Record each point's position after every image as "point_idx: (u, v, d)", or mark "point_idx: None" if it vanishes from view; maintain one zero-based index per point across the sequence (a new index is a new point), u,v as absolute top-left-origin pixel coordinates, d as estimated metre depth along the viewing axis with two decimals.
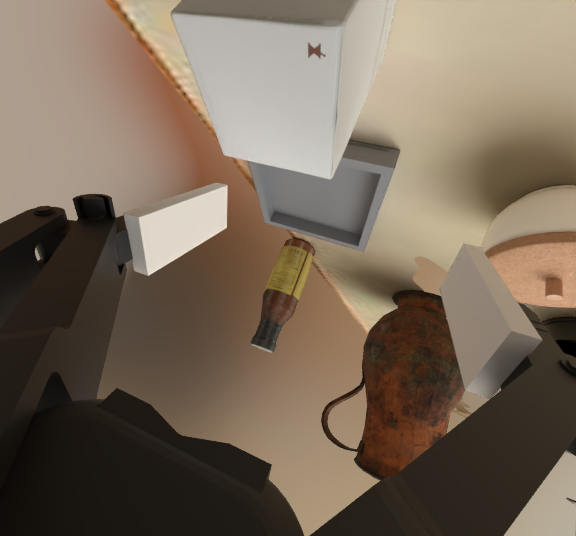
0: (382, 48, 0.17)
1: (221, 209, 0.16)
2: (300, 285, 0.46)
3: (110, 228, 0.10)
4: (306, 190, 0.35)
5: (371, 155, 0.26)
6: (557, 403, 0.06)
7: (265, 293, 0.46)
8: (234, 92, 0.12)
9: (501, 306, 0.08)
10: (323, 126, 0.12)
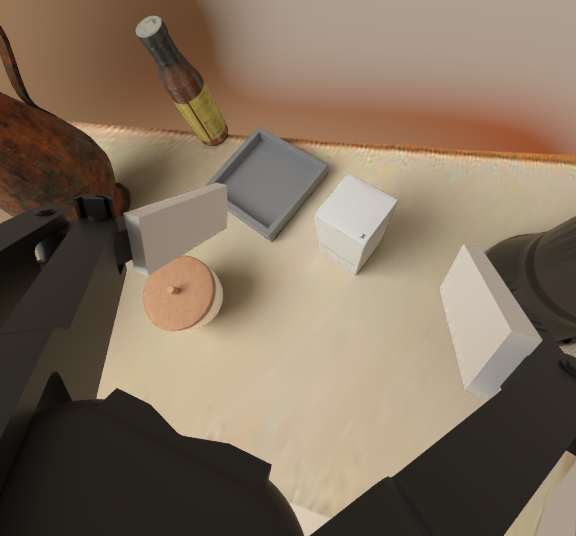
0: (327, 252, 0.41)
1: (221, 209, 0.16)
2: (189, 116, 0.46)
3: (110, 228, 0.10)
4: (270, 177, 0.49)
5: (279, 227, 0.45)
6: (557, 403, 0.06)
7: (200, 76, 0.44)
8: (367, 202, 0.31)
9: (501, 306, 0.08)
10: (339, 225, 0.31)
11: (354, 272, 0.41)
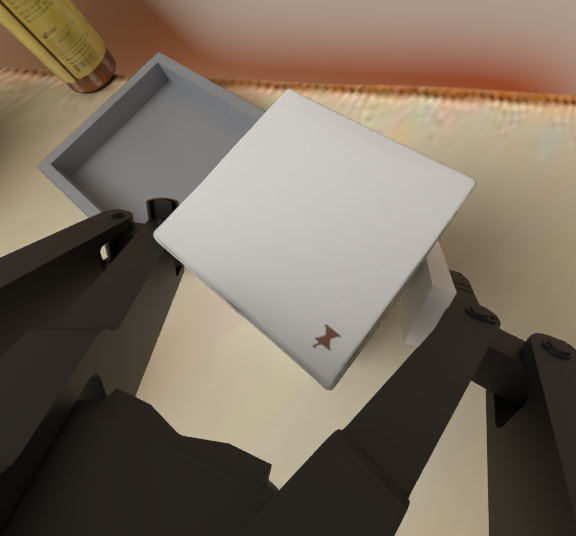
0: None
1: None
2: (0, 15, 0.23)
3: None
4: (173, 147, 0.25)
5: None
6: (465, 342, 0.07)
7: None
8: (353, 187, 0.08)
9: (431, 269, 0.10)
10: (233, 281, 0.08)
11: None
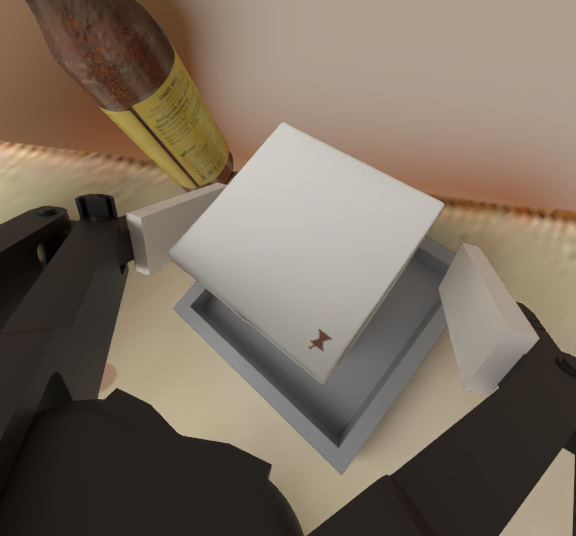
0: None
1: None
2: (141, 140, 0.19)
3: (112, 228, 0.10)
4: None
5: None
6: (554, 401, 0.06)
7: (164, 37, 0.16)
8: (340, 210, 0.09)
9: (499, 305, 0.08)
10: (240, 294, 0.09)
11: None
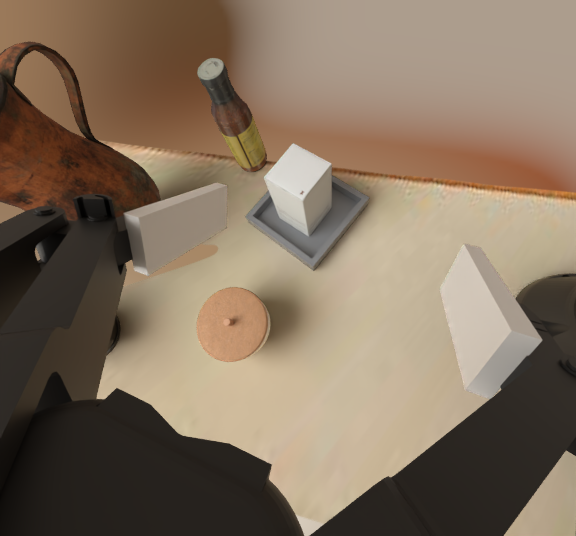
0: (283, 216, 0.47)
1: (221, 209, 0.16)
2: (235, 146, 0.48)
3: (110, 228, 0.10)
4: None
5: (321, 257, 0.46)
6: (557, 403, 0.06)
7: (249, 110, 0.45)
8: (307, 165, 0.38)
9: (501, 306, 0.08)
10: (283, 185, 0.38)
11: (307, 233, 0.47)
